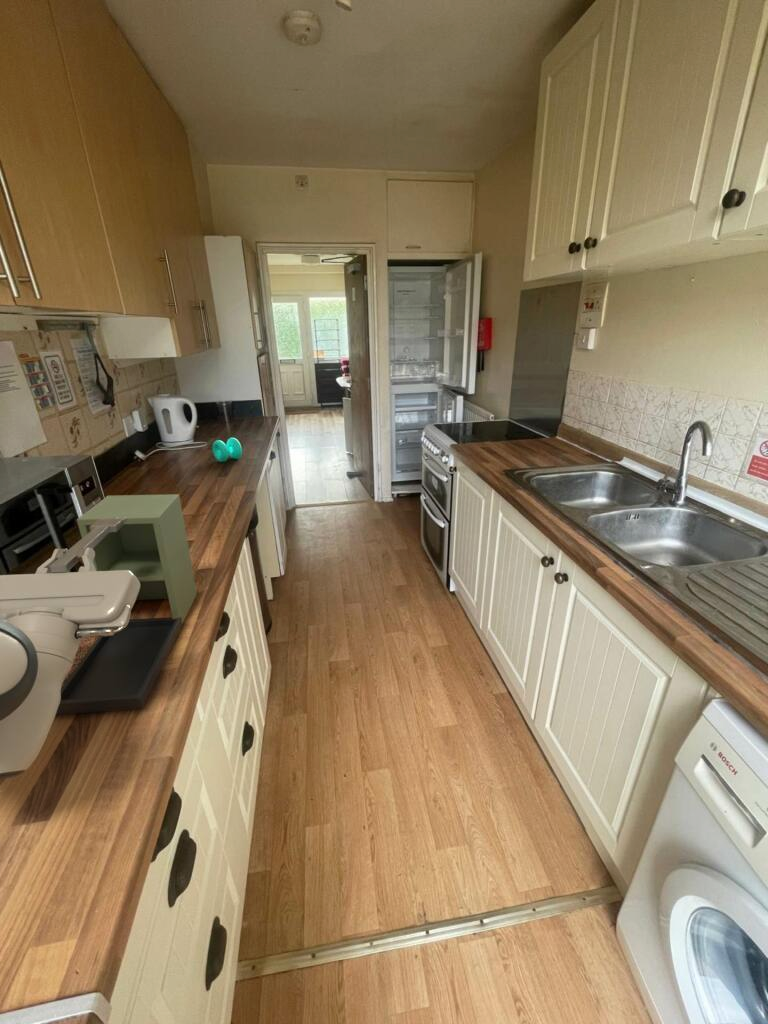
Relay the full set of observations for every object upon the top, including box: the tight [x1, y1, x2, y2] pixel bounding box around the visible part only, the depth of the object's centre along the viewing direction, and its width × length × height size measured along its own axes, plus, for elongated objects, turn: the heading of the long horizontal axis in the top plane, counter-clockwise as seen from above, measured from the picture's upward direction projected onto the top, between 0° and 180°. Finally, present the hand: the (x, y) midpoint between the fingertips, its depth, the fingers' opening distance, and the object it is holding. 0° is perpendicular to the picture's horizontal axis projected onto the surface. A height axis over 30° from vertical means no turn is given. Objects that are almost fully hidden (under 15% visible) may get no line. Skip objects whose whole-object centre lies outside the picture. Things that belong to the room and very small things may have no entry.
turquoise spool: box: [212, 437, 243, 463], centre depth 196 cm, size 10×10×10 cm
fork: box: [50, 517, 127, 573], centre depth 68 cm, size 18×4×1 cm, turn 7°
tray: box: [55, 616, 184, 716], centre depth 78 cm, size 14×21×2 cm, turn 7°
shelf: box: [76, 493, 198, 624], centre depth 88 cm, size 14×12×25 cm
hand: (75, 550), depth 64 cm, fingers closed on fork
